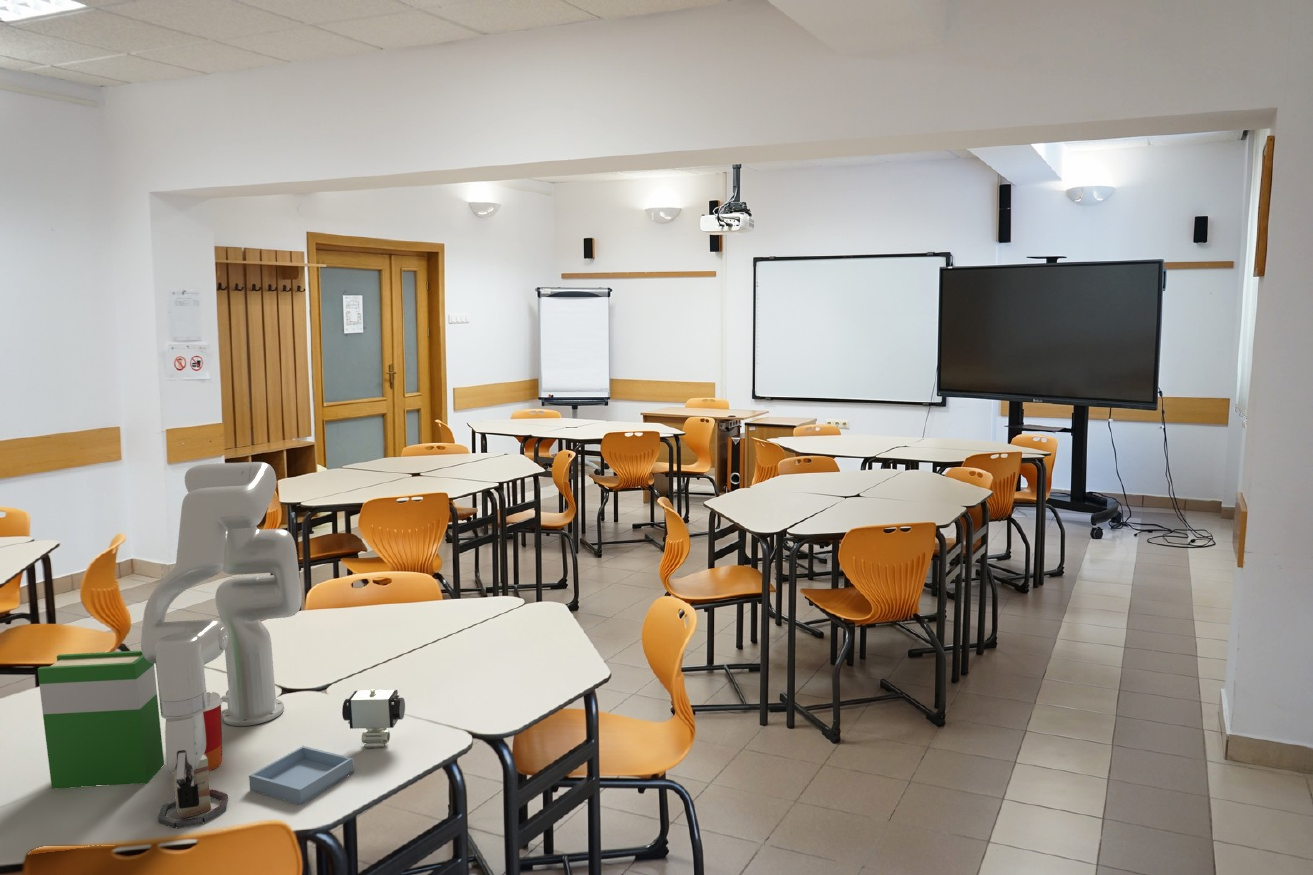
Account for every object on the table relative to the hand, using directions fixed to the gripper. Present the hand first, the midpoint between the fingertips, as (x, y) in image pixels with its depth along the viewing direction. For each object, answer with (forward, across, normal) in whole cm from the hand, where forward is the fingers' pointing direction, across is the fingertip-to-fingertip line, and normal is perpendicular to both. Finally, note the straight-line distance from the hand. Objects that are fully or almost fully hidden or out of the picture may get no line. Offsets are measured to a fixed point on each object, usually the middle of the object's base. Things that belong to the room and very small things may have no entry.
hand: (193, 796), depth 171 cm
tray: (+3, -5, +18) cm, 19 cm away
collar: (+3, 0, 0) cm, 3 cm away
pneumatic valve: (+3, -17, +31) cm, 36 cm away
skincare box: (+3, 0, 0) cm, 3 cm away
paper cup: (+3, -18, -1) cm, 18 cm away
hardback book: (+3, -19, -19) cm, 27 cm away
